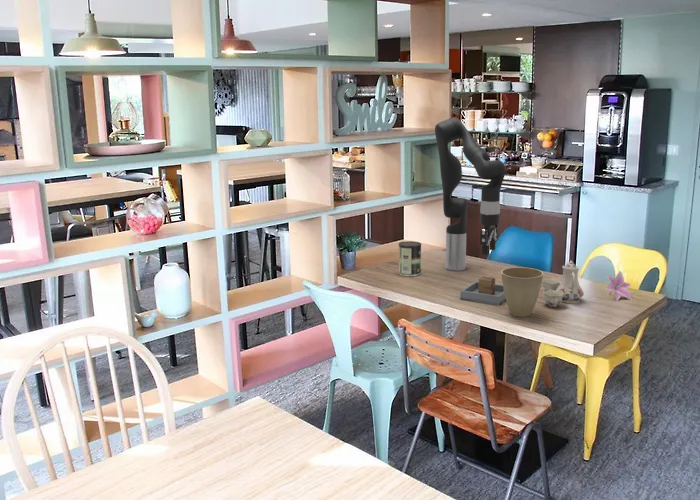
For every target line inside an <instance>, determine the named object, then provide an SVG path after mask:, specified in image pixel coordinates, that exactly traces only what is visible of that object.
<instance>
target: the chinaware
mask: <svg viewBox="0 0 700 500" xmlns="http://www.w3.org/2000/svg"><path fill="white" fill-rule="evenodd" d="M561 267H562V276H561V277H562V278H561V279H558V278H556V277H552V278H551V277H550V278H549V277H543V278H542V283H541V287H542V288H543V290H541V295H542V296H543V300H544V302H545V303H546V304H547V306H548V307H549V308H556V307H558V304H560V303H565V304H578V303H581V298H582V297H584V295H585V294H584V290H583V289H582V287H581V285H580V283H579V278H578V276H579V275H578V273H579V270H580V268H581V267H579V266H577V265H576V263H574V261H573V260H570V261H569V262H566V265H562V266H561Z"/></svg>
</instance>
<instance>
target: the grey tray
mask: <svg viewBox="0 0 700 500" xmlns="http://www.w3.org/2000/svg"><path fill="white" fill-rule="evenodd" d="M478 289H479V281H477V280H475V281H473V282H472V283H470V284H469V285H467V286H466V287H464V288H462V289H461V290H460V294H459V296H460V297H459V300H463V301H469V302H475V303H480V302H481V304H486V305H495V306H500V305H502V304H503V303H504V302H505V301H506V298H505V293H504V289H503V284H498V283H495V294H494V295H490V294H483V293H478Z"/></svg>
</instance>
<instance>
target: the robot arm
mask: <svg viewBox="0 0 700 500" xmlns="http://www.w3.org/2000/svg"><path fill="white" fill-rule="evenodd" d="M434 135H435V141H436V146H437V150H438V156H439V157H438V159H439V168H440V171H439V172H440V177H441V178H440V179H441V186H442V187H441V188H442V196H443V197H442V201H443V202H442V204H443V206H442V207H443V215H444V216H445V218H449V219H459V221H457V222H455V223H452V224H449V225H447V226H446V227H445V228H446V229H445V234H446V235H445V270H448V271H454V272H455V271H457V272H458V271H464V270H466V264H467V263H466V261H467V260H466V259H467V257H466V256H467V228H468V226H467V224H468V223H467V221H468V209H469V203H468V200H467V199H466V198H463V197H462V198H461V197H451V196H452V194H453V192H454V191H455V189H456V188H457V187H458V186H459V184H460V183H461V182H462V179H463V178H462V177H463V169H462V163H461V161H460V160H459V159H458V157H456V155H454V154H453V153H452V152H451V151H450V149H449V144H450V143H452V142H455V141H456V140H458V139H460V140H462V152H463V156H464V157H465V158H466V159H467V160H468V162H470V163H471V164H472V165H473V167H474V169H475V172H476V173H477V175H478V177H479V178H480V179H483V180H489V182H488V183H487V184H484V185H483V186H482V187H481V195H480V196H481V199H480V206H479V209H480V213H479V224H480V225H483V229H482V228H481V229H480V236H479V245H481V246H482V247H481V248H482V249H481V250H482V251H481V252H482V255H483V256H487V255H489V250H490V251H495V250H496V241H497V239H498V238H499V225H500V221H501V220H500V219H501V218H500V217H501V204H500V203H501V202H500V201H501V200H500V199H501V188H502V185H503V182H504V179H505V175H506V166H505V163H504V162H503V161H502V160H500V159H499V160H498V159H495V160H490V155H489V154H488V152H487V151H486V150H485V149H484V148H482V147H481V146H480V144H478V143H477V142H476V140H475V139H474V137H473V136H472V134H471V132H470V131H469V130H468V129H467V127H466V126H465V124H463V122H462V121H461V120H460V119H459V118H458V117H455V116H453V117H450V118H448V119H445V120H443V121H440V122H438V123H436V125H435V127H434Z"/></svg>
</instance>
